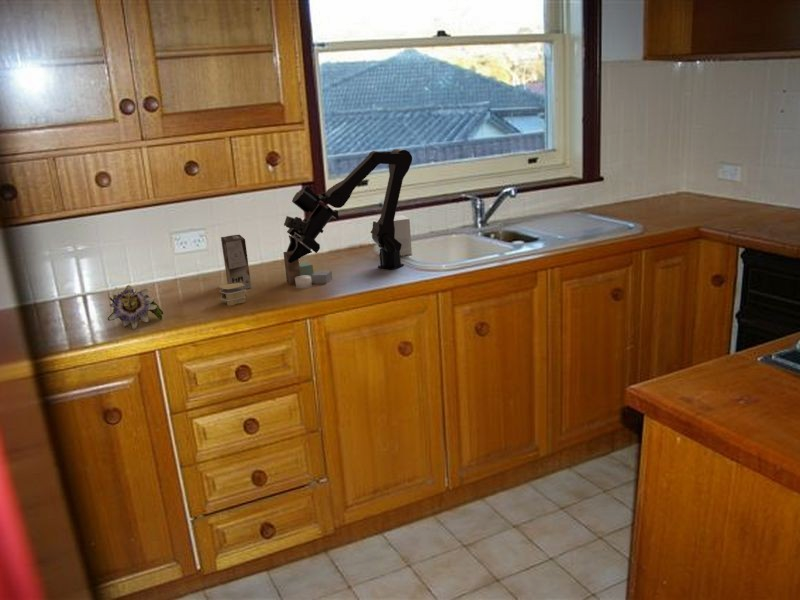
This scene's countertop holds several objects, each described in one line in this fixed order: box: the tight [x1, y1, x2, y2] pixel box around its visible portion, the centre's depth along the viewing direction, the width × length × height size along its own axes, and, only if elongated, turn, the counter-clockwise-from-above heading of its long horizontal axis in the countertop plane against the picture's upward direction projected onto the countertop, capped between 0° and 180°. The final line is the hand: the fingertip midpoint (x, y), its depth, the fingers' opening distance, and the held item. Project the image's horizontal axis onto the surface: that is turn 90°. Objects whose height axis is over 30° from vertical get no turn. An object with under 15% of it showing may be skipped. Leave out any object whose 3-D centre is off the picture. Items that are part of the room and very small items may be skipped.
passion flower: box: [107, 284, 164, 331], centre depth 208 cm, size 13×12×14 cm
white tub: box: [295, 275, 313, 290], centre depth 234 cm, size 5×5×3 cm
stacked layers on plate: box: [218, 283, 247, 306], centre depth 222 cm, size 10×9×6 cm
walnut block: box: [283, 251, 300, 286], centre depth 238 cm, size 4×4×10 cm
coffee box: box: [220, 234, 252, 290], centre depth 237 cm, size 9×6×16 cm
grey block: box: [311, 270, 333, 284], centre depth 238 cm, size 5×5×3 cm
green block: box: [299, 261, 314, 277], centre depth 247 cm, size 6×4×4 cm, turn 30°
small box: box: [394, 214, 413, 257], centre depth 266 cm, size 8×6×13 cm
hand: (287, 260), depth 236 cm, fingers closed on walnut block, 4 cm apart
